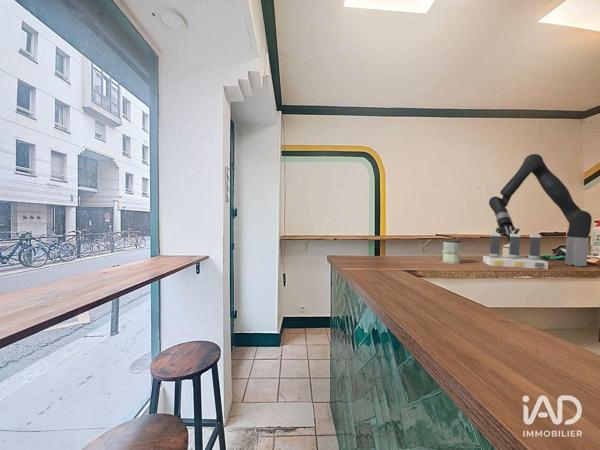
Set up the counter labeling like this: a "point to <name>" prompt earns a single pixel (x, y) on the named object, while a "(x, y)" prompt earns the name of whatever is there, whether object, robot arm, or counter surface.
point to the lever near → (534, 247)
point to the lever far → (494, 245)
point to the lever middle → (514, 246)
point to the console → (515, 262)
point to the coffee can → (451, 251)
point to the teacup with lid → (505, 250)
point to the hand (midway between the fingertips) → (511, 241)
